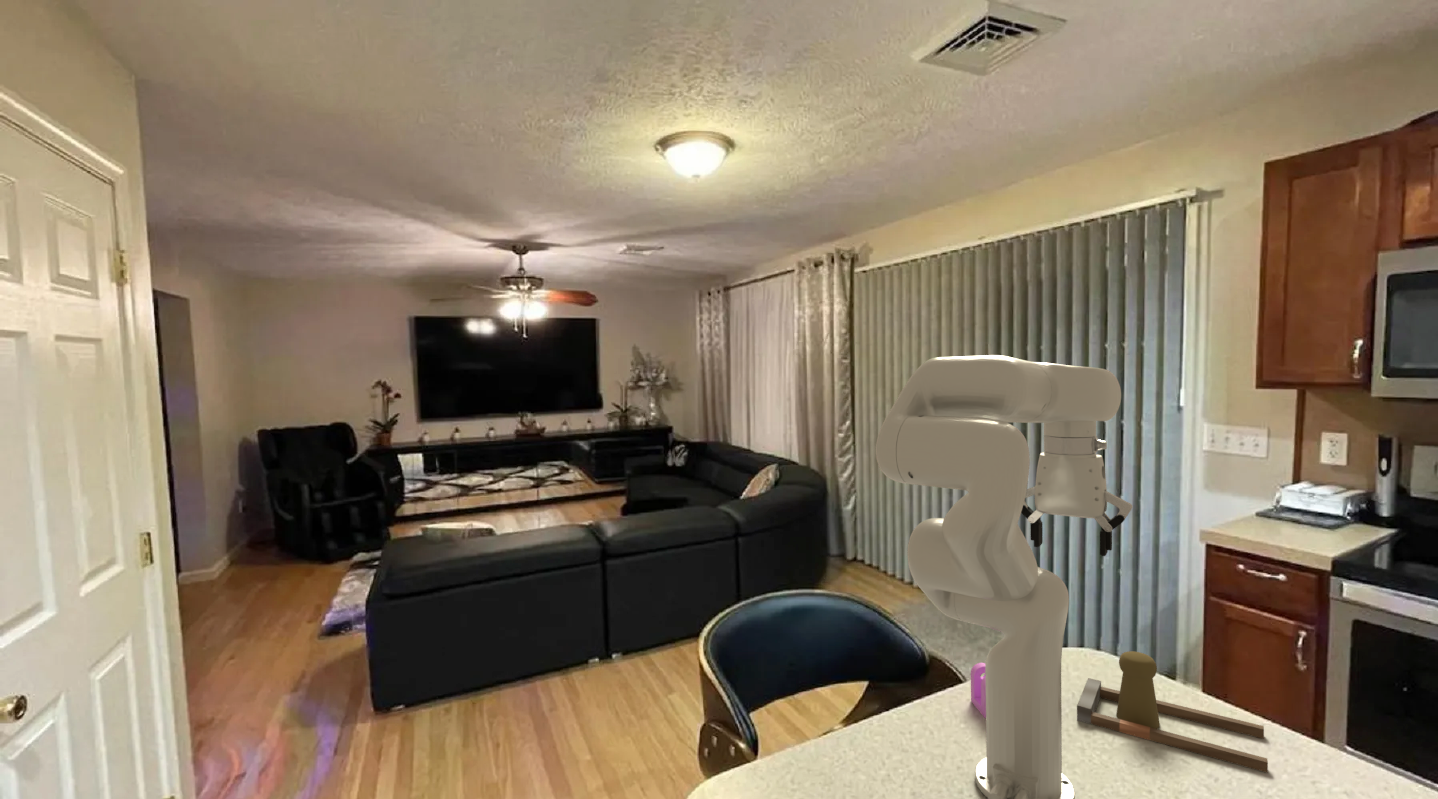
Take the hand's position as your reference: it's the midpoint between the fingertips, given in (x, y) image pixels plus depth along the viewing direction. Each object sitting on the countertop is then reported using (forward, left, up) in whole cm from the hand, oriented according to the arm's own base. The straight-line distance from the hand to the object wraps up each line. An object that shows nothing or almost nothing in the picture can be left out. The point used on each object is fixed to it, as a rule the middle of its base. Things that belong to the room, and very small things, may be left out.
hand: (1070, 549), depth 106 cm
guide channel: (+5, -13, -28) cm, 32 cm away
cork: (+5, -9, -28) cm, 30 cm away
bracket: (-2, +8, -29) cm, 30 cm away
